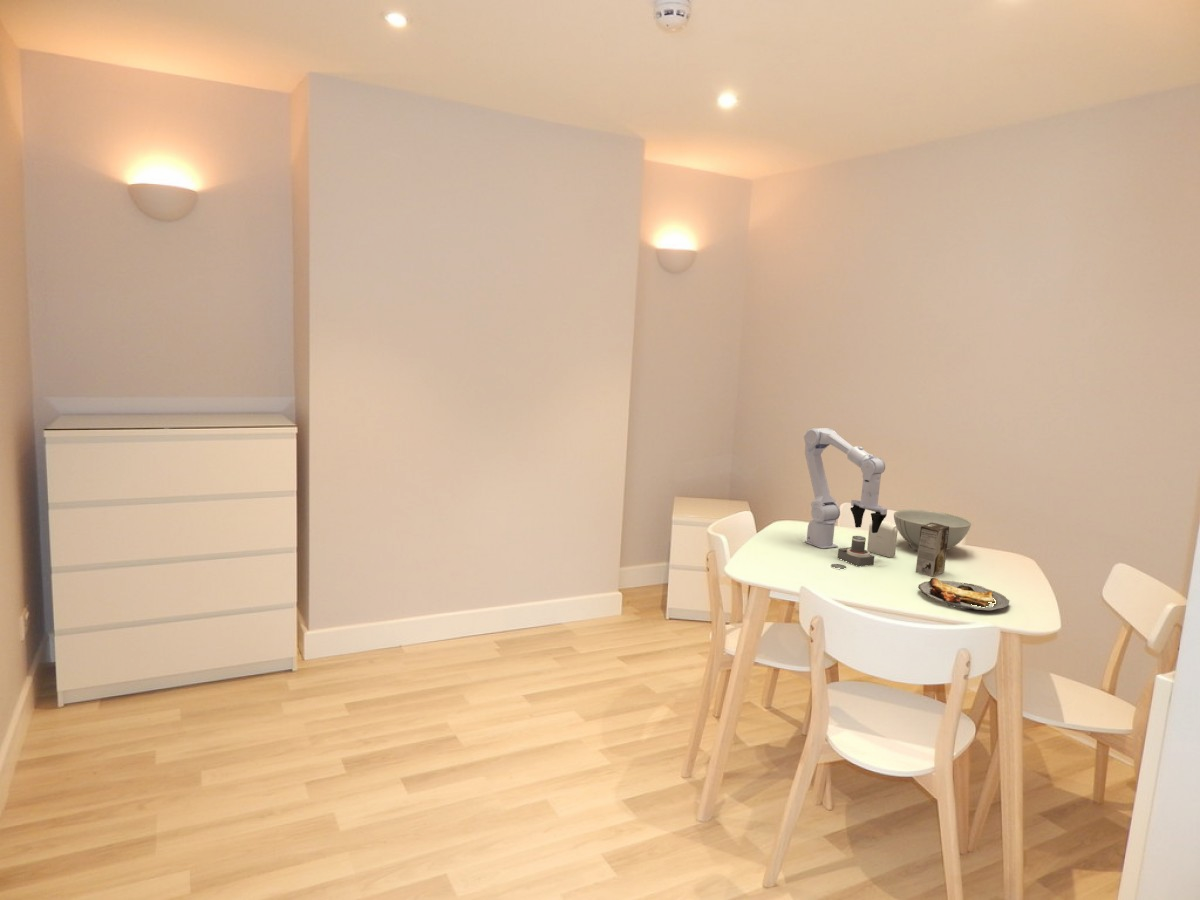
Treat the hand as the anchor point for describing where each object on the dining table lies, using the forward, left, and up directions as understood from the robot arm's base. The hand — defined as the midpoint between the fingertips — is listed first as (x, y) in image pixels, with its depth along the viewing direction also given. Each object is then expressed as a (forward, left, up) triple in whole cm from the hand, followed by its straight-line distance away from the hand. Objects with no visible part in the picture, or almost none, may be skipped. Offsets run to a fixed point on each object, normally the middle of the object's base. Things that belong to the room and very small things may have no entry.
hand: (866, 529), depth 273 cm
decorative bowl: (-1, +35, -11) cm, 37 cm away
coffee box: (+20, +10, -11) cm, 25 cm away
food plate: (+43, -4, -11) cm, 45 cm away
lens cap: (+5, -17, -11) cm, 21 cm away
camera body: (+2, -6, -10) cm, 12 cm away
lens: (+3, -7, -7) cm, 10 cm away
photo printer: (-2, +11, -11) cm, 15 cm away
